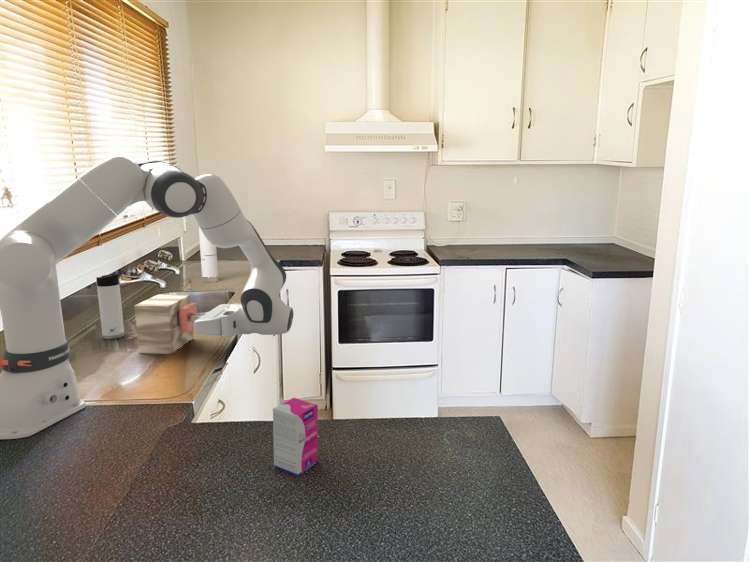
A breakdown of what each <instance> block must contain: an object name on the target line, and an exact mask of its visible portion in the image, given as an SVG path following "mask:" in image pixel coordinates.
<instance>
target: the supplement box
mask: <svg viewBox="0 0 749 562" xmlns="http://www.w3.org/2000/svg"><path fill="white" fill-rule="evenodd" d="M318 408H319V407H318V404H317V403H312V402H309V401H306V400H303V399H299V398H296V397H293V398H290V399H289V400H286V401H285V402H283V403H281V404H279V405H277V406H275V407H273V408H272V424H273V425H272V428H273V429H272V430H273V432H272V433H273V434H272V435H273V468H274V467H276V468H278V469H280V470H279V471H281V470H283V471H282V472H284V471H285V472H284V473H286V472H287V473H286V474H289V473H290V474H289V475H291V474H292V475H291V476H295V477H297V476H298V477H300V476H301V475H302V474H303V473H305V472H307V470H309V469H310V468H312V467H313V466H315V465H316V464H318V462H319V459H318V457H319V456H318V452H319V451H318V450H319V449H318V448H319V447H318V446H319V443H318V442H319V440H318V439H319V438H318V437H319V436H318V435H319V434H318V433H319V432H318V429H319V428H318V427H319V426H318V423H319V422H318V421H319V419H318V417H319V416H318V414H319V413H318V410H319V409H318ZM314 464H315V465H314ZM276 468H275V469H276ZM278 469H277V470H278Z"/></svg>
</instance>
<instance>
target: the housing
mask: <svg viewBox="0 0 749 562" xmlns="http://www.w3.org/2000/svg"><path fill="white" fill-rule="evenodd" d="M191 301H192V300H191V295H190V294H164V293H159V294H156V295H154V296H152V297H150V298H148V299H145V300H143V301H141V302H139V303H137V304H134V306H133V307H134V315H135V316H134V317H135V328H136V329H135V330H136V337H137V349H138V354H156V355H157V354H158V355H161V354H162V355H163V354H164V355H173V354H174V353H176V352H177V351H178V350H177V349H179V348H180V347H181V348H183V347H184V346H185V345H184V344H185V343H187V342H188V341H189V340H191V339H192V338H193V339H194V331H193V330H194V328H193V329H192V330H190V331H189V332H181V325H180V324H178V318H177V312H178V311H179V308H181V307H183V306H185V305H187V304H188V303H192V302H191ZM191 341H192V340H191ZM188 343H189V342H188ZM188 343H187V344H188ZM183 345H184V346H183ZM182 346H183V347H182ZM181 348H180V349H181ZM180 349H179V350H180ZM176 350H177V351H176ZM175 351H176V352H175ZM173 352H174V353H173ZM170 353H171V354H170ZM172 353H173V354H172Z"/></svg>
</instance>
